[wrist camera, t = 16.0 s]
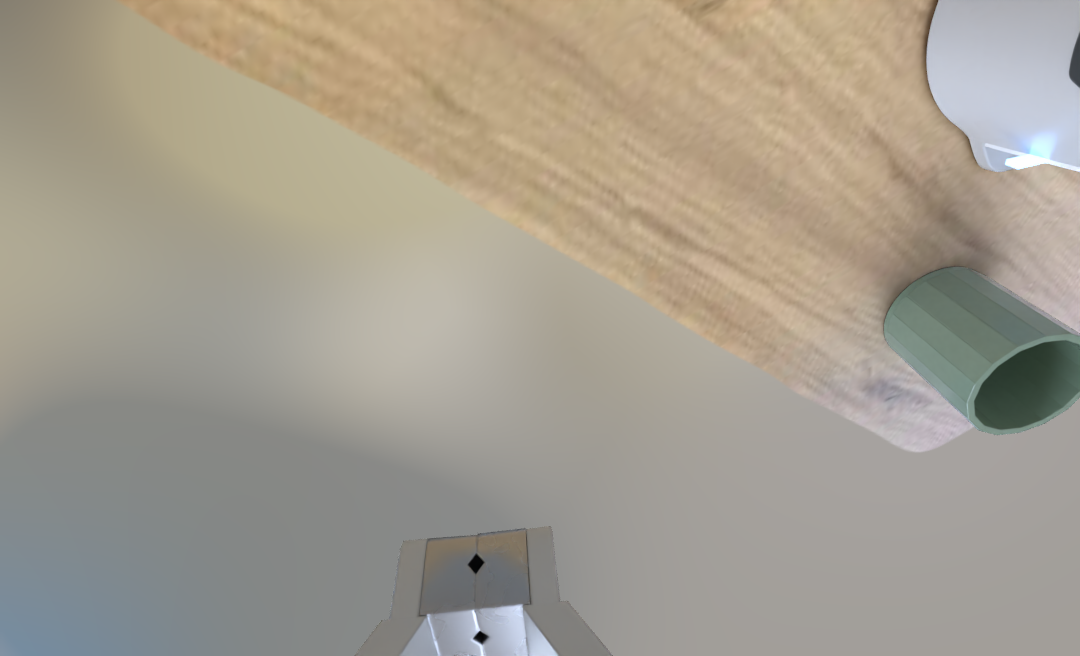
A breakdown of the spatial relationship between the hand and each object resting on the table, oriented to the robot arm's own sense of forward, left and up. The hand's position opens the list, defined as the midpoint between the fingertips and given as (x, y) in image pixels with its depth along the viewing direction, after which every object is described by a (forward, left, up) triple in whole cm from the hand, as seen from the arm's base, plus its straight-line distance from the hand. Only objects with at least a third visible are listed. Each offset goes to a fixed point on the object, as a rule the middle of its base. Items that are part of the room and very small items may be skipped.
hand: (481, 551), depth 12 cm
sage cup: (-34, +15, -29) cm, 47 cm away
